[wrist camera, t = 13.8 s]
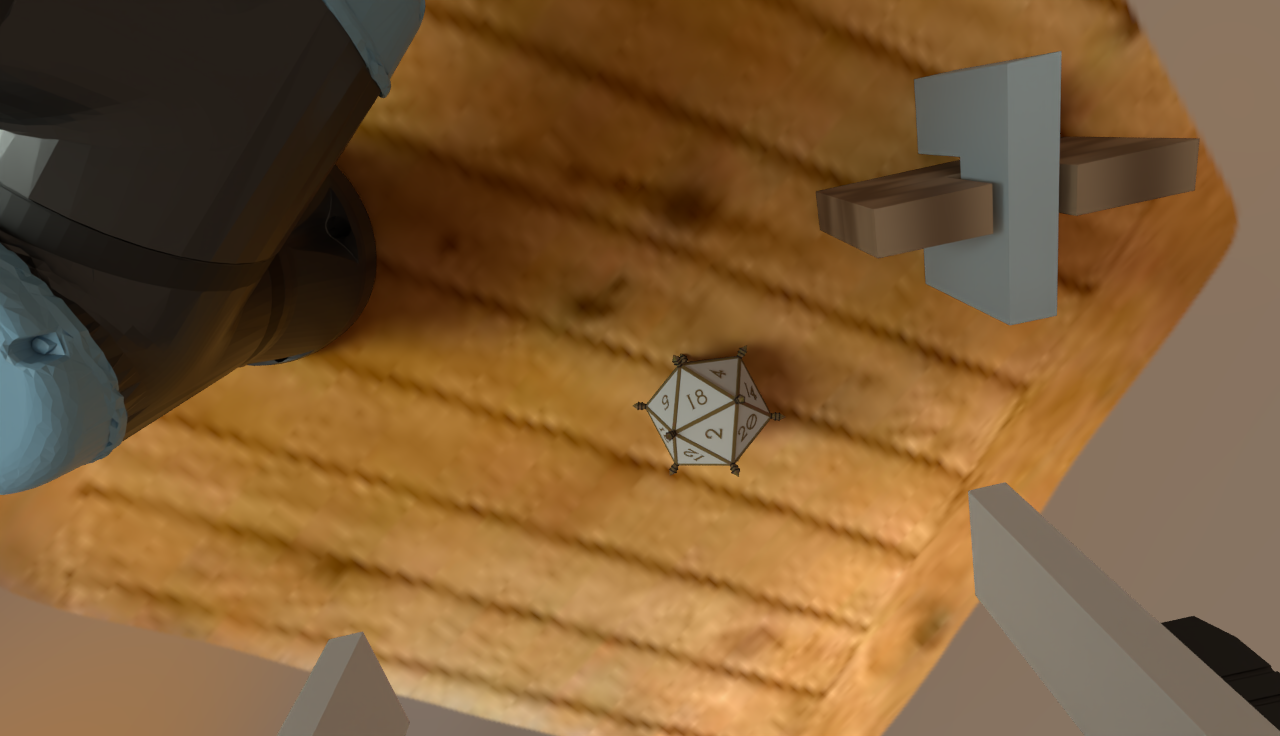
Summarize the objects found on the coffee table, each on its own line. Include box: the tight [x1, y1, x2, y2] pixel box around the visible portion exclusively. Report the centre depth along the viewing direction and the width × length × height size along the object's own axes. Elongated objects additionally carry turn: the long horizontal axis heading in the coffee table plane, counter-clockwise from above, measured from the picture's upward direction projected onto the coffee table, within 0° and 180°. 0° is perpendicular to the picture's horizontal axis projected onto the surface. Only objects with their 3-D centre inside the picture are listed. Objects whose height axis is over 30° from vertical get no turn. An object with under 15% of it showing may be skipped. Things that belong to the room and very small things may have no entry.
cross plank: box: [914, 51, 1061, 325], centre depth 37 cm, size 2×13×10 cm, turn 12°
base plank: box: [816, 137, 1199, 258], centre depth 37 cm, size 16×2×10 cm, turn 102°
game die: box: [633, 345, 785, 477], centre depth 42 cm, size 9×8×10 cm
